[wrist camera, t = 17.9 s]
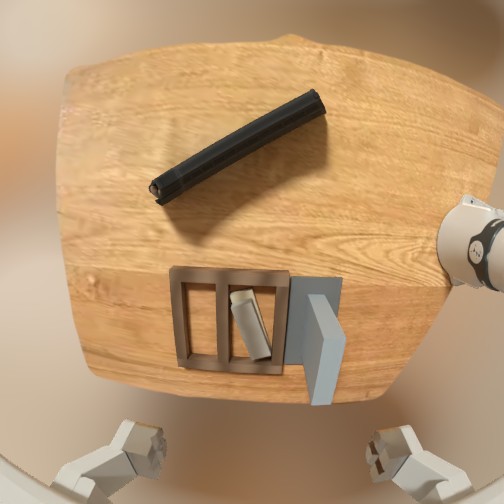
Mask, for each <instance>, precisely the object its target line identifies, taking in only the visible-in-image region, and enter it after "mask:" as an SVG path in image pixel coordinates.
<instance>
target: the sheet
mask: <svg viewBox="0 0 504 504" xmlns="http://www.w3.org/2000/svg"><path fill="white" fill-rule="evenodd" d="M345 343H346V336H345V334H344V332H343V330H342V328H341V326H340V324H339V322H338V320H337V318H336V316H335V314H334V312H333V310H332V308H331V306H330V304H329V302H328V300H327V299H326V297H325V295H318V294H308V296H307V306H306V315H305V324H304V332H303V340H302V348H301V355H302V360H303V365H304V370H305V375H306V381H307V386H308V391H309V397H310V402H311V405H331V402H332V398H333V394H334V390H335V386H336V382H337V378H338V374H339V370H340V366H341V361H342V357H343V352H344V348H345Z"/></svg>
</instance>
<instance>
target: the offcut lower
mask: <svg viewBox="0 0 504 504" xmlns="http://www.w3.org/2000/svg"><path fill="white" fill-rule="evenodd" d="M230 298H231V301H232V303H236V302H239V301H243V300H246V299H250V298H252V299H253V302H254V305H255V308H256V310H257V313H258V316H259V319H260V321H261V324H262V327H263V330H264V332H265V335H266V338H267V340H268V343H269V346H270V348H271V345H270V342H269V338H268V335H267V332H266V329H265V326H264V322H263V319H262V316H261V313H260V309H259V306H258V303H257V300H256V297H255V293H254V290H253V287H250V288H246V289H242V290H238V291H234V292H230ZM271 352H272V348H271Z"/></svg>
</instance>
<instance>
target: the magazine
mask: <svg viewBox="0 0 504 504" xmlns="http://www.w3.org/2000/svg"><path fill="white" fill-rule="evenodd" d="M322 114H326V110H325V107H324V105H323V103H322V101H321V99H320V96H319V95H318V93H317V92H316V91H315V90H314V89H311V90H310V91H309V92H307V93H305V94H303V95H301V96H299V97H297V98H295V99H293V100H292V101H290V102H288V103H286V104H284V105H282V106H280V107H278V108H277V109H275V110H272V111H271V112H269V113H267V114H265V115H264V116H261V117H260V118H258V119H256V120H254V121H253V122H250V123H249V124H247V125H245V126H244V127H242V128H240V129H238V130H236V131H235V132H233V133H231V134H229V135H227V136H226V137H224V138H222V139H221V140H219V141H217V142H215V143H214V144H212V145H210V146H209V147H207V148H205V149H203V150H202V151H200V152H199V153H197V154H195V155H193V156H192V157H190V158H188V159H187V160H185V161H183V162H181V163H180V164H179V165H177V166H175V167H174V168H171V169H170V170H168V171H167V172H165V173H163V174H162V175H160V176H159V177H157V178H155V179H154V180H152V183H151V185H150V186H149V191H150V192H151V193H152V194H153V195H154V196H155V197H157V198H159V199H157V200H155V201H156V202H157V203H158V204H159V205H161V206H163V205H164V204H166V203H168V202H169V201H171V200H173V199H174V198H176V197H177V196H179V195H181V194H182V193H183V192H185V191H187V190H188V189H190V188H192V187H193V186H195V185H197V184H198V183H200V182H202V181H203V180H205V179H207V178H208V177H210V176H212V175H213V174H215V173H217V172H219V171H220V170H222V169H224V168H225V167H227V166H229V165H231V164H232V163H234V162H236V161H238V160H239V159H241V158H243V157H245V156H246V155H248V154H250V153H252V152H253V151H255V150H257V149H259V148H260V147H262V146H264V145H266V144H268V143H269V142H271V141H273V140H275V139H277V138H279V137H280V136H282V135H284V134H286V133H288V132H290V131H291V130H293V129H295V128H297V127H299V126H301V125H303V124H305V123H307V122H309V121H310V120H312V119H314V118H316V117H318V116H320V115H322Z"/></svg>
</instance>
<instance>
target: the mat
mask: <svg viewBox="0 0 504 504" xmlns="http://www.w3.org/2000/svg"><path fill="white" fill-rule="evenodd" d="M341 286H342V278H341V277H301V276H291V285H290V298H289V310H288V322H287V333H286V343H285V353H284V364H303V360H302V355H301V348H302V340H303V332H304V324H305V315H306V306H307V296H308V294H318V295H325V297H326V299H327V300H328V302H329V304H330V306H331V308H332V310H333V312H334V314H335V316H336V318H337V314H338V308H339V301H340V294H341Z"/></svg>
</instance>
